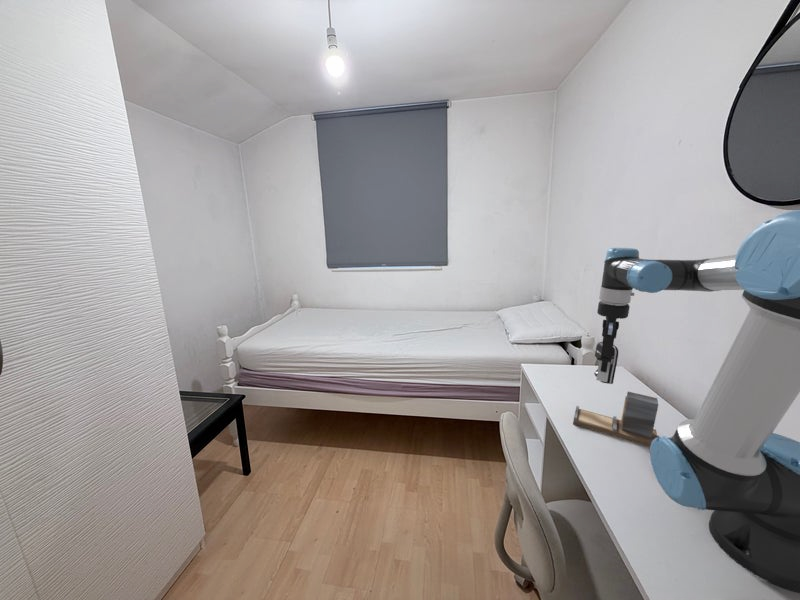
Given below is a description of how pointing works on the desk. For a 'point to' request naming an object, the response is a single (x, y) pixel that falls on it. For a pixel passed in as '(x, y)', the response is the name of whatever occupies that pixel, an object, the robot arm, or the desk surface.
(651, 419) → the organizer
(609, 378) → the battery charger
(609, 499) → the desk surface
